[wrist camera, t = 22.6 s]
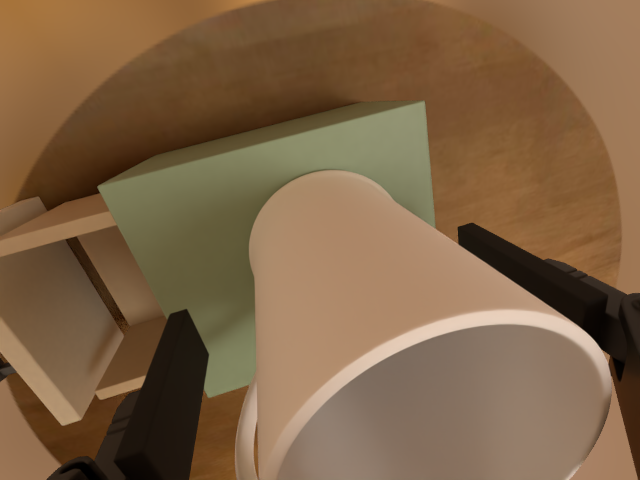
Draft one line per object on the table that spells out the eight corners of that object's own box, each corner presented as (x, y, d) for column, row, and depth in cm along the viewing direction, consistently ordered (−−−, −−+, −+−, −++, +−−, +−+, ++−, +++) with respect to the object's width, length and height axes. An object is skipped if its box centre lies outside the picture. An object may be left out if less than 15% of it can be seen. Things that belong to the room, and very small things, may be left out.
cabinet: (220, 309, 29) (207, 398, 20) (154, 155, 23) (95, 186, 15) (387, 258, 31) (444, 321, 22) (362, 101, 25) (425, 100, 16)
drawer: (49, 360, 27) (-24, 454, 20) (-58, 221, 22) (-211, 278, 14) (281, 290, 29) (291, 352, 21) (233, 145, 23) (225, 163, 16)
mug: (286, 370, 21) (327, 668, 10) (171, 294, 17) (35, 622, 6) (429, 243, 19) (667, 427, 8) (334, 131, 16) (526, 194, 5)
